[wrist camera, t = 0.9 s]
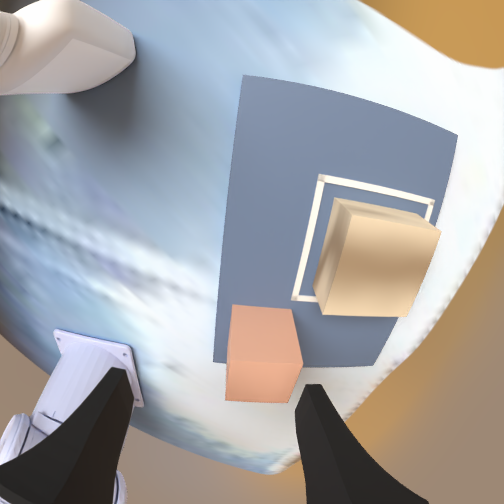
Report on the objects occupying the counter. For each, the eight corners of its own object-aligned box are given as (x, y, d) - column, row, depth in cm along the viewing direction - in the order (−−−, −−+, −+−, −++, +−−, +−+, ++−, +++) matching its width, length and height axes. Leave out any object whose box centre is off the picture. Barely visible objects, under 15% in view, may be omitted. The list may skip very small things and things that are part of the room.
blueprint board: (370, 359, 24) (373, 366, 23) (213, 355, 22) (212, 363, 22) (450, 133, 15) (458, 135, 14) (243, 76, 14) (243, 74, 13)
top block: (280, 349, 21) (287, 402, 17) (227, 346, 21) (225, 400, 16) (291, 309, 19) (303, 363, 15) (232, 304, 19) (230, 360, 15)
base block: (389, 291, 19) (406, 316, 16) (312, 285, 19) (322, 314, 16) (416, 213, 16) (441, 231, 14) (334, 197, 16) (352, 214, 13)
